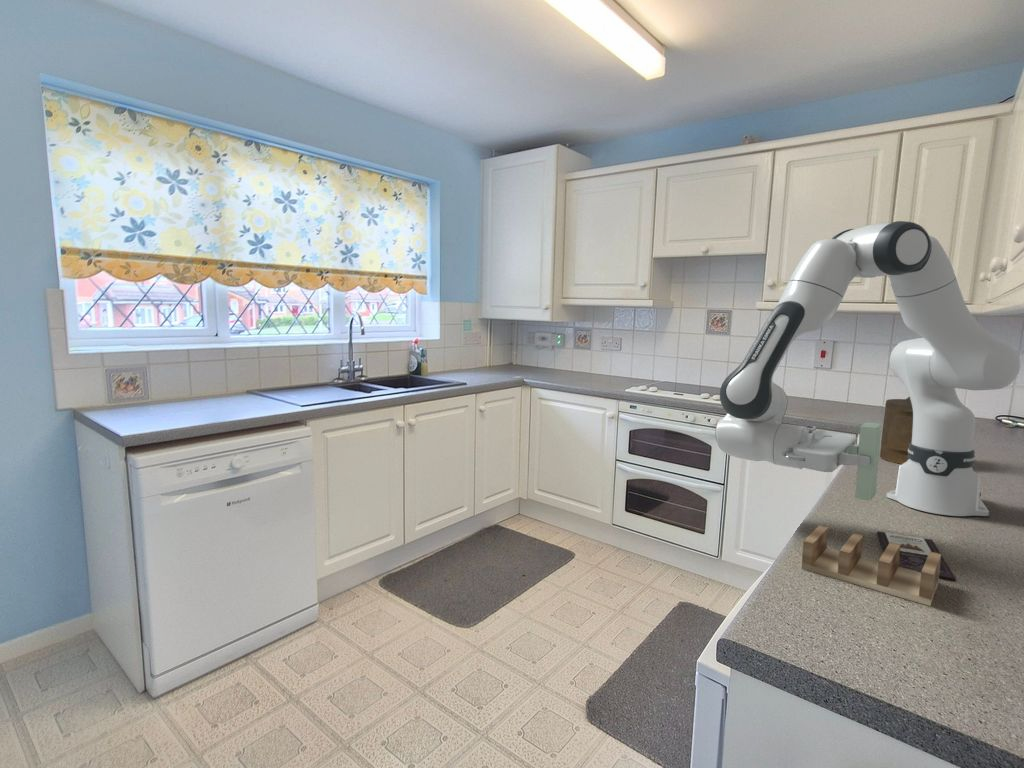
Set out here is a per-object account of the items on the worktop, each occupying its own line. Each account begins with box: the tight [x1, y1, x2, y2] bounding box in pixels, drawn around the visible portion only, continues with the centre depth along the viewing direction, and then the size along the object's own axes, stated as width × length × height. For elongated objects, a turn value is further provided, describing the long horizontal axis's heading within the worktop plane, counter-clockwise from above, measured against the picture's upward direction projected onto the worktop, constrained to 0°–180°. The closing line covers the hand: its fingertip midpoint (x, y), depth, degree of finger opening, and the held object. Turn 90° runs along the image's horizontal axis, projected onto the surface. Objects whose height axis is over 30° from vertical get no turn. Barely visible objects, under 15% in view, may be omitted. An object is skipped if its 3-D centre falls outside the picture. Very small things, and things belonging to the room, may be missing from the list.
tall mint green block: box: [854, 421, 882, 502], centre depth 104 cm, size 5×2×14 cm, turn 136°
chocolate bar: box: [876, 530, 957, 582], centre depth 100 cm, size 9×1×18 cm
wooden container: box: [879, 396, 913, 465], centre depth 165 cm, size 15×15×22 cm
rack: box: [801, 525, 942, 607], centre depth 92 cm, size 10×18×5 cm, turn 46°
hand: (873, 457), depth 103 cm, fingers closed on tall mint green block, 5 cm apart
